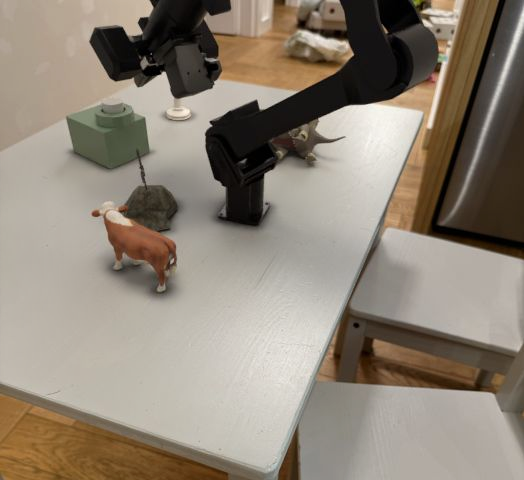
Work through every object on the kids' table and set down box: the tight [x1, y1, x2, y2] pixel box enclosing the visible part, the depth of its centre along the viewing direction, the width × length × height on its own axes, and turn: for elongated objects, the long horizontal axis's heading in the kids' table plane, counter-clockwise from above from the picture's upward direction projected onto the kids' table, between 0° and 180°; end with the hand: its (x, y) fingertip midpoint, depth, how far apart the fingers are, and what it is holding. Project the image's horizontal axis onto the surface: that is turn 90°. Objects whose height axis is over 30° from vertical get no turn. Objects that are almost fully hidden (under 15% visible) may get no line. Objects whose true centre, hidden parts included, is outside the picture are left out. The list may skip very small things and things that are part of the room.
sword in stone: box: [123, 148, 179, 232], centre depth 71 cm, size 10×8×12 cm
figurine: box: [270, 118, 347, 164], centre depth 92 cm, size 20×6×17 cm
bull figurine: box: [91, 201, 178, 293], centre depth 62 cm, size 4×13×8 cm, turn 51°
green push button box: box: [65, 102, 150, 170], centre depth 86 cm, size 11×9×8 cm
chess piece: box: [166, 97, 192, 121], centre depth 99 cm, size 5×5×10 cm
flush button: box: [101, 96, 124, 114], centre depth 82 cm, size 3×3×2 cm
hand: (137, 84), depth 76 cm, fingers closed
